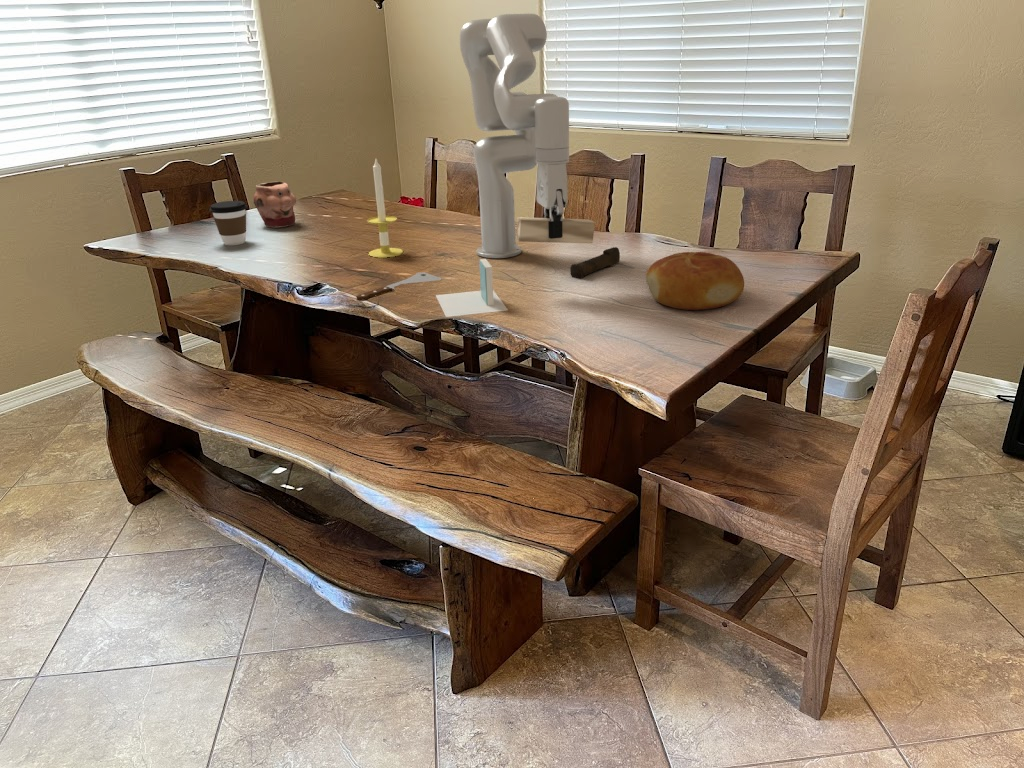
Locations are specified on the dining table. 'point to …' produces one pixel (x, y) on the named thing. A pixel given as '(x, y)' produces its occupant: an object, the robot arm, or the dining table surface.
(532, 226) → the beige long bar
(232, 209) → the coffee cup
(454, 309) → the mat
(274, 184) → the decorative planter
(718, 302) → the bread
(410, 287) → the dining table surface
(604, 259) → the rusty brown spike
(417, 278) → the kitchen cleaver
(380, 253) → the candle
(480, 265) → the tile
